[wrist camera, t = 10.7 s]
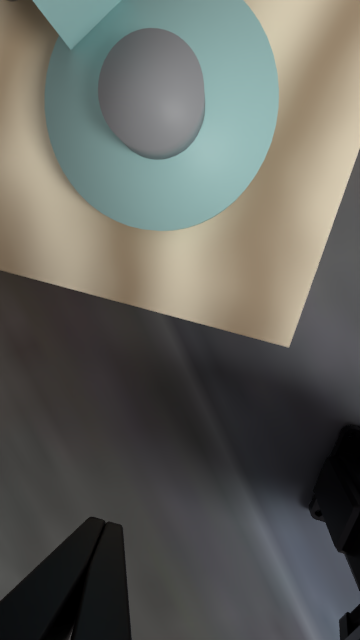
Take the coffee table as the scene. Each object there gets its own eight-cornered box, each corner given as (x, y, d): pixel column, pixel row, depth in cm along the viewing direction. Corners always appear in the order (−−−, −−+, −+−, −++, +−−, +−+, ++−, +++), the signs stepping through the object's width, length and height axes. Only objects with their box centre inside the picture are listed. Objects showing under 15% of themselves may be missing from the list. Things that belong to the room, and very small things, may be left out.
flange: (317, 140, 15) (365, 96, 10) (142, 271, 17) (114, 284, 12) (95, -227, 13) (24, -502, 8) (-74, -24, 15) (-209, -146, 10)
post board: (420, -51, 14) (525, -196, 10) (284, 340, 19) (308, 376, 14) (17, -142, 15) (-76, -320, 10) (-20, 259, 20) (-97, 266, 15)
